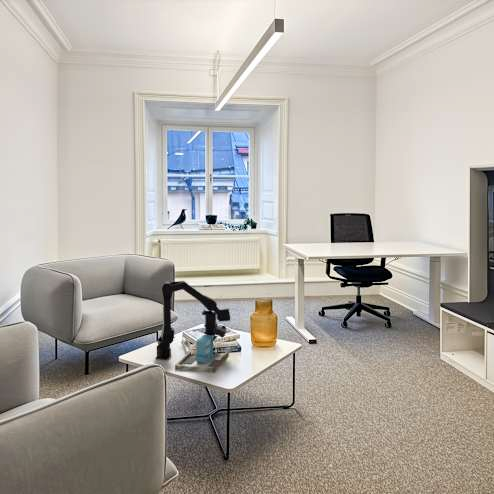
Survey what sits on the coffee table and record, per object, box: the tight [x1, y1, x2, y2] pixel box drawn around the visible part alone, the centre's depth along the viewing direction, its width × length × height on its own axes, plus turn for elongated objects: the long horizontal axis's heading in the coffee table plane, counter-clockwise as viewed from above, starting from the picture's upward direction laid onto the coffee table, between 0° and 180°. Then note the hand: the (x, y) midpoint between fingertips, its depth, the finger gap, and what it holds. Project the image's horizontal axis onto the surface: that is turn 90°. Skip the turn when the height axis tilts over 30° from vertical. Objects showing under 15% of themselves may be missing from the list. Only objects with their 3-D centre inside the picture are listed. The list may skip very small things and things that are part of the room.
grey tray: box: [174, 350, 229, 374], centre depth 239 cm, size 20×26×2 cm
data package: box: [195, 334, 214, 365], centre depth 241 cm, size 12×4×12 cm, turn 162°
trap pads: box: [183, 356, 220, 367], centre depth 239 cm, size 17×9×1 cm, turn 77°
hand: (210, 350), depth 252 cm, fingers closed
